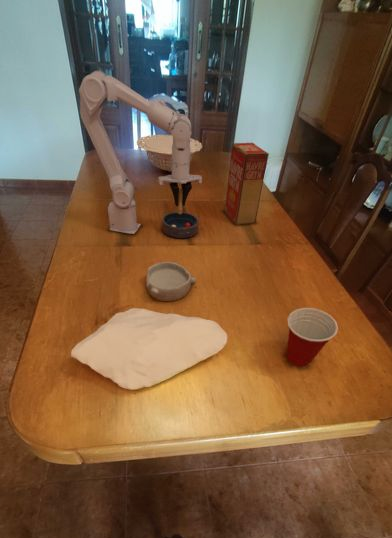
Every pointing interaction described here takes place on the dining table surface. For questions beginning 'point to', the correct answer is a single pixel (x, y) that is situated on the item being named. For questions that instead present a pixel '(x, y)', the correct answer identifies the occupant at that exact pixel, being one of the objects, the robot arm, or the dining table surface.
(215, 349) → the crumpled cloth
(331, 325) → the plastic cup
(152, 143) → the woven basket
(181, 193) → the stick
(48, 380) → the dining table surface
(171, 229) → the bowl
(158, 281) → the dish
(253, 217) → the food packaging
